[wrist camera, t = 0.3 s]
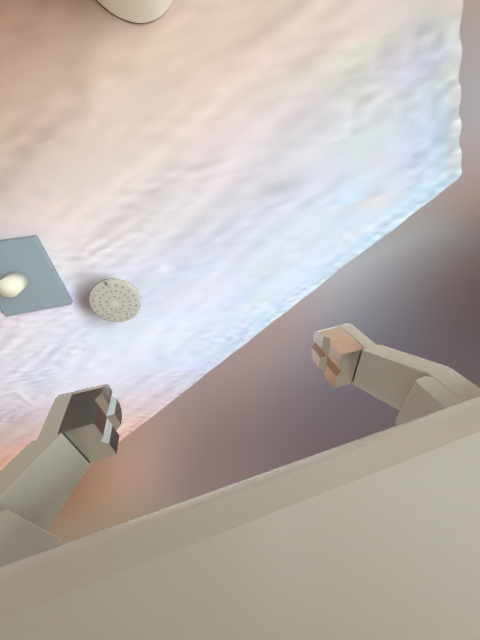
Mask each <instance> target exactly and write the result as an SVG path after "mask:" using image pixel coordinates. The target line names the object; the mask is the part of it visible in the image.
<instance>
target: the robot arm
mask: <svg viewBox="0 0 480 640" xmlns="http://www.w3.org/2000/svg"><path fill="white" fill-rule="evenodd" d="M97 1H98V2H99V3H101V4H102V5H103V6H104V7H105V8H106V9H107V10H109V11H110V12H111V13H113V14H114V15H116V16H118V17H120V18H122V19H124V20H127V21H130V22H134V23H147V22H151V21H153V20H155V19H157V18H159V17H160V16H161V15H163V14H164V13H165V12H166V10H167V9H168V8H169V6H170V5H171V3H172V1H173V0H97ZM313 340H314V341H315V342H316V343H315V344H314V346H313V347H312V358H313V361H314V363H315V364H316V366H317V367H318V368H319V369H321V370H323V371H325V375H324V376H325V378H326V379H327V380H328V381H329V382H330V384H331V385H332V386H333V388H336V387H340V386H343V385H347V384H351V383H353V385H355V386H357V387H359V388H361V389H362V390H364V391H366V392H368V393H369V394H371V395H373V396H375V397H376V398H378V399H380V400H382V401H384V402H385V403H387V404H389V405H390V406H392V407H394V408H396V409H398V410H399V411H400V413H399V414H398V417H397V418H396V424H397V426H394V427H392V428H389V429H386V430H383V431H381V432H378V433H375V434H372V435H369V436H367V437H364V438H361V439H358V440H355V441H353V442H350V443H347V444H344V445H341V446H338V447H335V448H333V449H330V450H327V451H324V452H321V453H319V454H316V455H313V456H310V457H308V458H304V459H302V460H299V461H296V462H293V463H290V464H288V465H285V466H282V467H279V468H276V469H274V470H271V471H268V472H265V473H262V474H260V475H257V476H254V477H251V478H248V479H246V480H243V481H240V482H237V483H234V484H232V485H229V486H226V487H223V488H220V489H218V490H215V491H212V492H210V493H206V494H204V495H201V496H198V497H195V498H193V499H190V500H187V501H184V502H181V503H178V504H176V505H173V506H170V507H167V508H164V509H162V510H159V511H156V512H153V513H150V514H148V515H145V516H142V517H139V518H136V519H134V520H131V521H128V522H125V523H122V524H120V525H117V526H114V527H111V528H108V529H106V530H103V531H100V532H97V533H95V534H92V535H89V536H86V537H83V538H80V539H78V540H75V541H72V542H69V543H66V544H63V545H61V541H60V539H59V538H57V537H56V536H54V535H52V534H51V533H49V532H47V529H48V528H49V526H50V525H51V523H52V522H53V520H54V519H55V517H56V516H57V514H58V513H59V511H60V510H61V508H62V506H63V505H64V504H65V502H66V500H67V499H68V497H69V496H70V494H71V493H72V491H73V489H74V488H75V487H76V485H77V484H78V482H79V481H80V479H81V477H82V476H83V474H84V473H85V472H86V470H87V468H88V467H89V465H90V463H91V462H94V461H97V460H100V459H103V458H106V457H109V456H112V455H115V454H117V448H118V442H119V434H118V433H117V431H116V430H117V429H118V428H119V426H120V425H121V420H122V412H121V407H120V403H119V402H118V400H117V399H116V398H114V397H111V395H112V390H111V388H110V387H109V385H106V384H105V385H100V386H96V387H92V388H87V389H83V390H78V391H75V392H71V393H67V394H62V395H59V396H58V397H57V398H56V399H55V400H54V403H53V405H52V407H51V410H50V412H49V414H48V416H47V419H46V421H45V423H44V425H43V428H42V430H41V432H40V434H39V437H38V439H37V440H35V441H32V442H31V443H30V444H28V445H27V446H26V447H25V448H24V449H23V450H22V451H21V452H20V453H19V454H18V455H17V456H16V457H15V458H14V459H13V460H12V461H11V462H10V463H9V464H7V465H6V466H5V467H4V468H3V469H2V470H1V471H0V640H480V388H478V387H477V386H476V385H474V384H473V383H471V382H470V381H469V380H467V379H466V378H464V377H462V376H461V375H460V374H459V373H457V372H456V371H454V370H453V369H451V368H450V367H447V366H444V365H441V364H438V363H435V362H432V361H429V360H426V359H423V358H420V357H417V356H413V355H410V354H407V353H404V352H401V351H398V350H395V349H392V348H389V347H386V346H383V345H376V344H375V343H374V342H372V341H371V340H370V339H369V338H367V337H366V336H365V335H364V334H363V333H361V332H360V331H359V330H358V329H357V328H355V327H354V326H353V325H352V324H349V323H346V324H342V325H339V326H335V327H331V328H328V329H324V330H320V331H316V332H315V333H314V337H313Z"/></svg>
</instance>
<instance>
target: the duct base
mask: <svg viewBox="0 0 480 640" xmlns="http://www.w3.org/2000/svg"><path fill="white" fill-rule="evenodd" d="M72 302H73V300H72V299H71V297H70V295H69V293H68V291H67V289H66V288H65V286H64V284H63V282H62V280H61V278H60V276H59V275H58V273H57V271H56V269H55V267H54V265H53V264H52V262H51V260H50V258H49V256H48V254H47V253H46V251H45V249H44V247H43V245H42V243H41V241H40V240H39V238H38V236H37V235H35V236H28V237H20V238H12V239H5V240H0V309H1V310H2V311H3V313H4V314H5V315H6V316H10V315H16V314H21V313H27V312H32V311H37V310H43V309H48V308H54V307H59V306H65V305H70V304H71V303H72Z"/></svg>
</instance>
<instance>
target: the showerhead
mask: <svg viewBox="0 0 480 640" xmlns="http://www.w3.org/2000/svg"><path fill="white" fill-rule="evenodd" d="M89 303H90V306H91V308H92V309H93V311H94V312H95V313H96V314H97V315H98V316H100V317H101V318H103V319H105V320H108V321H113V322H123V321H127V320H130V319H132V318H133V317H135V316H136V315H137V314H138V312H139V311H140V308H141V296H140V293H139V292H138V290H137V289H136V288H135V287H134V286H133V285H132V284H130V283H129V282H127V281H124V280H121V279H114V278H112V279H106V280H103V281H100V282H99V283H97V284H96V285H95V286H94V288H93V289H92V291H91V293H90V296H89Z"/></svg>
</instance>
